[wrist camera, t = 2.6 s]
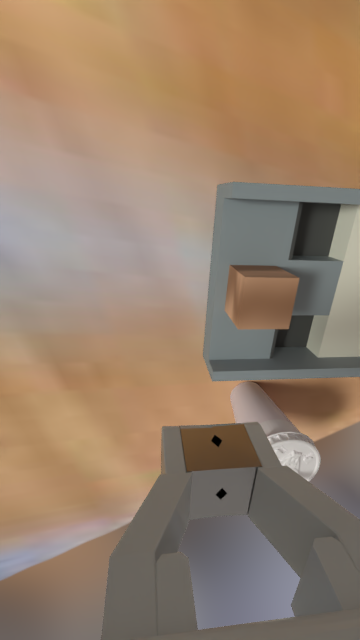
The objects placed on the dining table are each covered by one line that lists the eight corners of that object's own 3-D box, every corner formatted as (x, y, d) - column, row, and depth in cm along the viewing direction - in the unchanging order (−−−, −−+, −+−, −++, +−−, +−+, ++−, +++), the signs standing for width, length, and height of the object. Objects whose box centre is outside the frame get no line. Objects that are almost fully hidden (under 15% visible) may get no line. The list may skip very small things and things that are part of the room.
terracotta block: (229, 264, 23) (245, 277, 20) (275, 265, 24) (299, 278, 20) (224, 310, 25) (238, 329, 21) (268, 310, 25) (288, 329, 22)
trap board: (217, 184, 23) (233, 181, 19) (394, 194, 25) (443, 193, 21) (202, 355, 29) (212, 381, 25) (345, 352, 31) (375, 376, 27)
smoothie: (209, 410, 32) (250, 548, 20) (233, 364, 30) (298, 485, 17) (257, 422, 34) (324, 558, 21) (283, 379, 32) (376, 501, 19)
